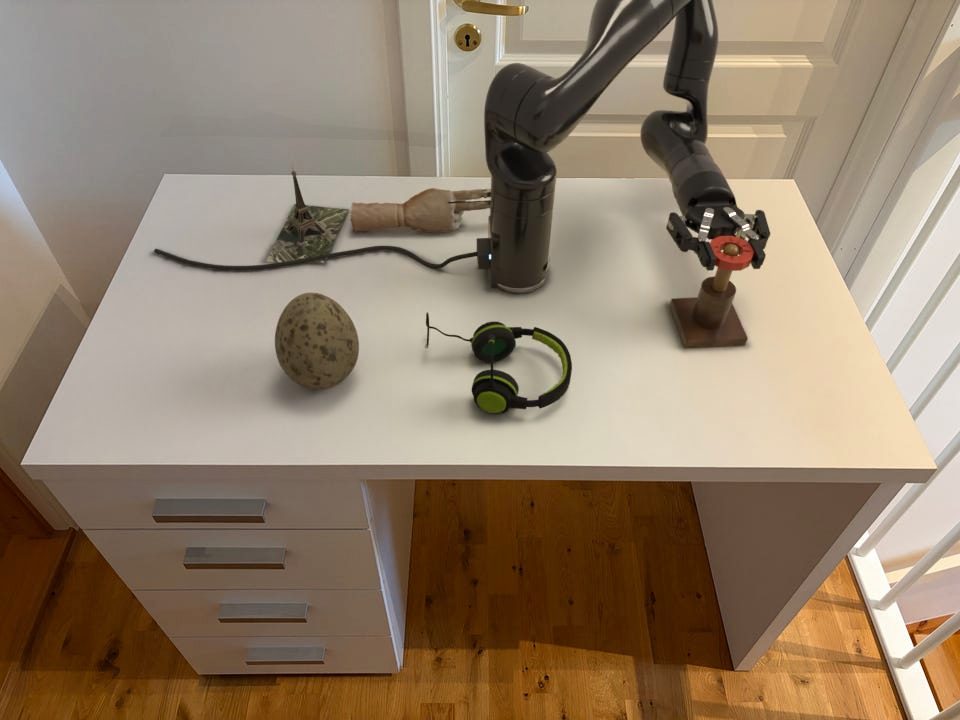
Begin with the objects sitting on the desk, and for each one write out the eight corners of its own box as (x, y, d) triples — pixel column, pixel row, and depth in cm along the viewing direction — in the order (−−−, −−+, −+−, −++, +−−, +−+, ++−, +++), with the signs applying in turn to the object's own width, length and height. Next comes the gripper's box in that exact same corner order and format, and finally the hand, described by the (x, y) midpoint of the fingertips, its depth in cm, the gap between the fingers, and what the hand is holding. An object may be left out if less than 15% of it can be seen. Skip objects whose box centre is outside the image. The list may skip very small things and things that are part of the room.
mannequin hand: (363, 225, 128) (505, 221, 125) (353, 241, 122) (502, 238, 119) (357, 185, 124) (503, 180, 121) (346, 200, 118) (500, 196, 115)
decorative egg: (335, 418, 96) (317, 340, 85) (269, 390, 99) (243, 310, 88) (378, 365, 102) (367, 285, 91) (315, 340, 106) (297, 260, 95)
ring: (713, 271, 97) (716, 263, 96) (701, 244, 100) (704, 236, 99) (756, 270, 97) (759, 262, 96) (742, 242, 101) (745, 234, 100)
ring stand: (684, 348, 105) (709, 268, 94) (669, 305, 111) (691, 226, 100) (745, 345, 106) (777, 266, 95) (726, 303, 112) (754, 223, 101)
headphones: (423, 285, 99) (569, 285, 100) (427, 335, 107) (563, 334, 107) (418, 373, 89) (581, 372, 89) (422, 421, 96) (573, 420, 96)
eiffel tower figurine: (326, 266, 117) (313, 197, 107) (265, 261, 117) (246, 191, 108) (349, 211, 127) (339, 142, 117) (293, 206, 127) (277, 138, 118)
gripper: (658, 170, 105) (689, 244, 93) (755, 168, 105) (798, 240, 94) (648, 213, 110) (676, 288, 99) (741, 211, 111) (779, 284, 100)
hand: (735, 264), depth 96 cm, fingers closed on ring, 5 cm apart
